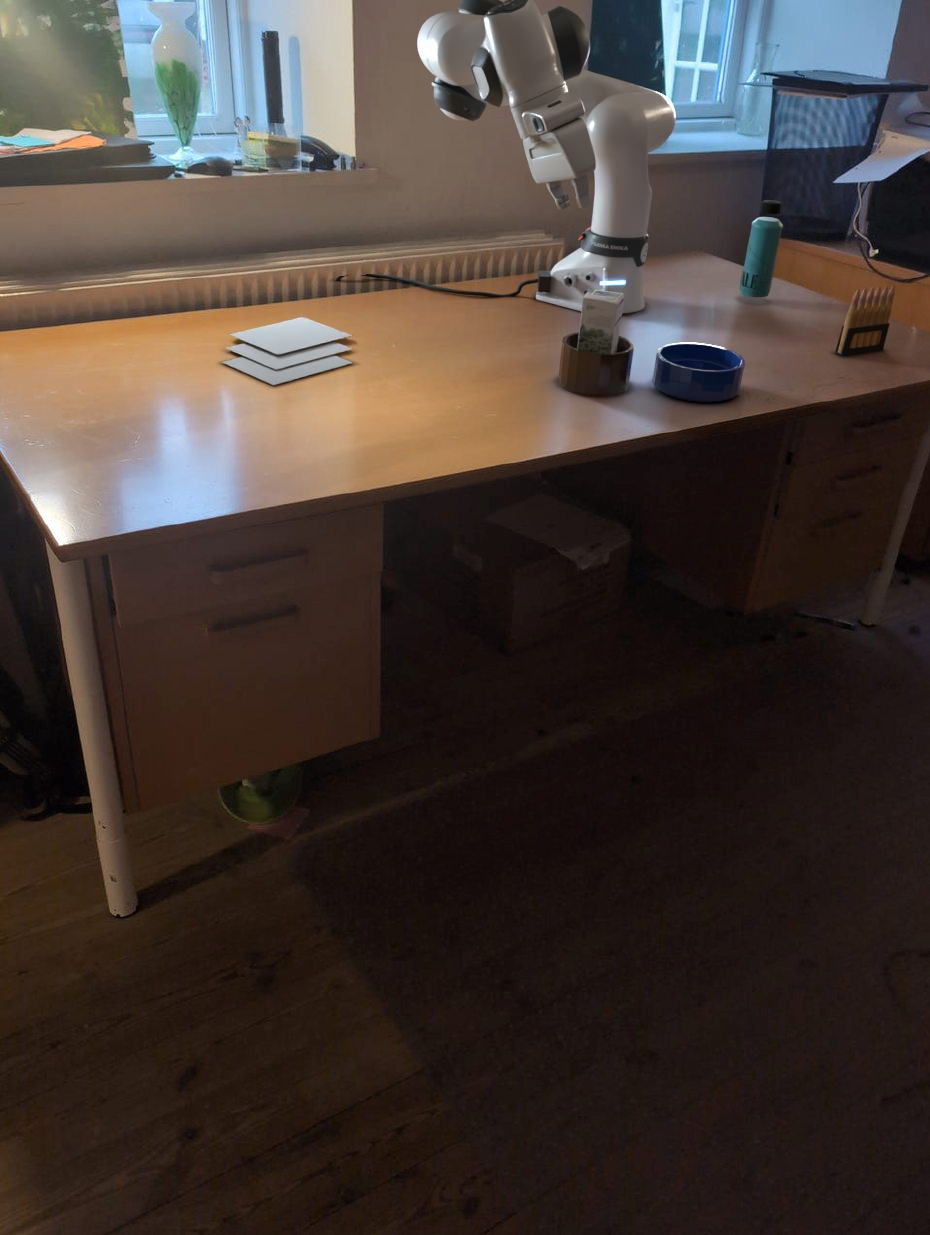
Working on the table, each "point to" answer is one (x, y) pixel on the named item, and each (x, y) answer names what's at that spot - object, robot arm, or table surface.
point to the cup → (595, 368)
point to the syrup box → (600, 321)
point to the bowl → (698, 372)
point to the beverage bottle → (762, 252)
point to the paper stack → (288, 350)
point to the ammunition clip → (866, 322)
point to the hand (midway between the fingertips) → (574, 207)
